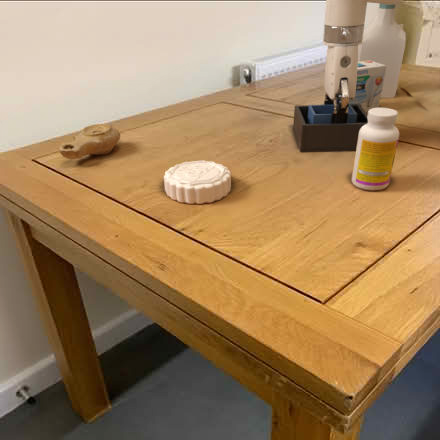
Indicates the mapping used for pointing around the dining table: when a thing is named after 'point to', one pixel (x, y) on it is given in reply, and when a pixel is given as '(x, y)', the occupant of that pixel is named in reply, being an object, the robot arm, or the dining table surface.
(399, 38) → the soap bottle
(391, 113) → the supplement bottle
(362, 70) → the light bulb box
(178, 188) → the mooncake
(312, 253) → the dining table surface
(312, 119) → the blue bin
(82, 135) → the oil lamp
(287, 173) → the dining table surface
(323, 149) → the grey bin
